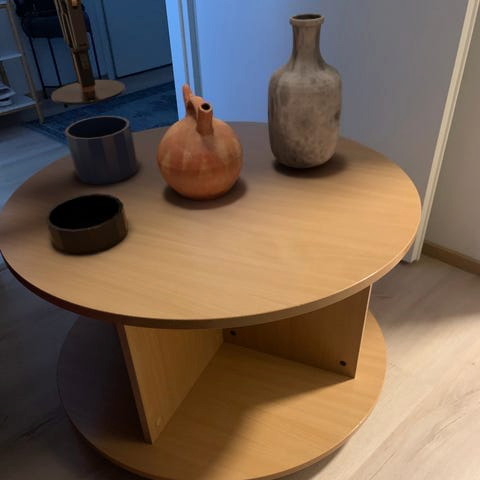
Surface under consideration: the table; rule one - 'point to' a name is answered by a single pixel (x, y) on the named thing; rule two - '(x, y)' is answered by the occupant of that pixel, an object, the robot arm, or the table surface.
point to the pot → (102, 149)
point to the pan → (87, 223)
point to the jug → (199, 152)
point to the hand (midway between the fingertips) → (86, 83)
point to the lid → (87, 92)
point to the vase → (304, 100)
